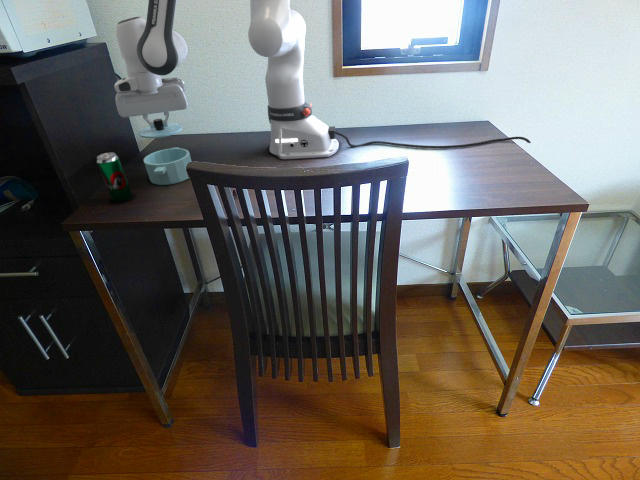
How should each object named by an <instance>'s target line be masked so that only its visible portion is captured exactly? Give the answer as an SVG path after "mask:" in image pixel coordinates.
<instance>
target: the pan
mask: <svg viewBox="0 0 640 480" xmlns="http://www.w3.org/2000/svg"><path fill="white" fill-rule="evenodd" d="M142 161H143V164H144V166H145V169H146V173H147V175H148V178H149V181H150V183H151V184H154V185H157V186H164V185H165V186H166V185H173V184H179V183H182V182H184V181H187V180H188V179H190V178H189V177H188V175H187V172H186V166H187V164H188V163H189V162H192V163H193V161H192V158H191V153H190V151H189V150H188V149H186V148H183V147H181V148H180V147H178V146H176V147H170V148H165V149H160V150H157V151H154V152H151V153H149V154H148V155H146V156H145V157H144V158H143V159H142Z"/></svg>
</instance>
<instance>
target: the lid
mask: <svg viewBox="0 0 640 480" xmlns="http://www.w3.org/2000/svg"><path fill="white" fill-rule="evenodd" d="M162 120H163V119H162V118H155V119H153V120H152V122H153V121H154V125H155V128H153V129H150V126H149V125H147V126H146V127H143V128H141V129H139V131H138V133H137V134H138V135H139V137H140V138H143V139H161V138H162V139H163V138H166V137H170V136H173V135H175V134H177V133H179V132H181V131H182V130H183V126H182V124H180V123H177V122H168V125H169V126H167V127H164V126H163V123H162Z"/></svg>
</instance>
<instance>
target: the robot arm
mask: <svg viewBox="0 0 640 480" xmlns="http://www.w3.org/2000/svg"><path fill="white" fill-rule="evenodd" d="M178 1H179V0H148V4H147V13H146V19H144V17H142V16H135V17H130V18H126V19H123V20H121V21H119V22H117V23H116V24H115V34H116V39H117V43H118V48H119V51H120V54H121V57H122V59H123V60H124V63H125V66H126V68H125V69H126V73H127V76H126V77H123V78H122V79H119V80H117V81H116V82H115V83H114V86H113V87H114V90H115V92H116V93H115V97H114V100H115V106H116V110H117V113H118V115H119V116H120V117H121V118H123V119H124V118H132V117H137V116H139V117H140V116H142V118H143V120H144V121H145V122H146V123H147V124H148V126H150V129H153V128H155V125H154V121H153V120H152V121H151V119H150V118H149V115H153V114H161V113H163V115H164V116H165V118H164V119H162V123H163V126H164V127H167V126H169V125H168V123H169V122H168V121H169V117H170V112H175V111H183V110H187V109H188V107H189V103H188V99H187V97H186V93H185V91H186V86H185V82H184V81H183V80H182V79H181V78H178V77H170V78H169V77H168V78H167V77H166V78H162V76H167V75H169V74H171V73H172V72H174V70H176V68H177V67H179V66H180V65H181V64H183V62H184V61H185V60H186V59H187V57H188V54H189V45H188V43H187V40H186V39H185V37H184V35H182V34H181V33H180V32H178V31H176V30H174V29H175V20H176V12H177V5H178ZM290 2H291V1H290V0H249V3H250V4H249V6H250V7H249V8H250V11H249V12H250V23H249V27H248V31H247V37H248V42H249V44H250V47H251V48H252V50H253V51H254V53H256V54H258V55H259V56H260V57H264V58H267V66H266V67H267V68H266V73H265V78H264V80H265V81H264V82H265V88H266V95H267V96H266V97H267V103H268V104H267V118H268V121H269V124H270V141H269V149H268V150H269V152H270V153H271V154H272V155H274V156H277V157H278V158H279V159H281V160H298V159H314V158H329V157H332V156H334V154H336V153H337V151H338V150H339V147H340V144H339V141H338V140H337V139H336V135H338V136H340V137H342V138H344V139H345V140H346V143H347V145H348V146H349V147H351V148H359V147H364V146H369V145H372V144H373V145H375V144H380V145H381V144H382V145H391V146H396V147H397V146H398V147H408V148H419V149H453V148H454V149H457V148H467V147H473V146H481V145H485V144H491V143H497V142H506V141H512V140H522V141H525V142H526V143H527V144H531V143H532V142H531V141H530V140H529V139H528V138H526V137H525V136H509V137H504V138H493V139H489V140H484V141H480V142H479V141H478V142H472V143H465V144H452V145H425V144H424V145H423V144H422V145H421V144H410V143H401V142H391V141H385V140H384V141H383V140H373V141H372V140H371V141H368V142H365V143H361V144H357V145H355V144H352V143H351V142H350V139H349V138H348V137H347V135H345V134H344V133H341V132H339V131H336V126H328V125H327V124H326V123H325V122H323V121H321V120H320V118H319V119H318V118H317V117H316V116H315V115H313V110H312V109H313V107H312V106H313V103H308V102H306V101H305V90H304V89H305V88H304V58H305V39H306V33H307V25H306V22H305V19H304V18H303V16H302V15H301V13H299V12H298V11H296V10H295V9H293V8H291V7H290V6H291V5H290Z"/></svg>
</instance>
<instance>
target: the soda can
mask: <svg viewBox="0 0 640 480" xmlns="http://www.w3.org/2000/svg"><path fill="white" fill-rule="evenodd" d="M96 164H97V167H98V169H99V172H100V175H101V176H102V178H103V181H104V183H105V186H106V189H107V191H108V194H109V196H110V198H111V200H112V201H113V202H115V203H123V202H126V201H129V200H130V199H131V198H132V196H133V192H132V189H131V186H130V184H129V182H128V178H127V175H126V173H125V170H124V168H123V165H122V162H121V160H120V157H119V156H118V155H117V154H116V153H115V152H113V151H112V152H111V151H110V152H104V153H101V154H99V155H97V156H96Z"/></svg>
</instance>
